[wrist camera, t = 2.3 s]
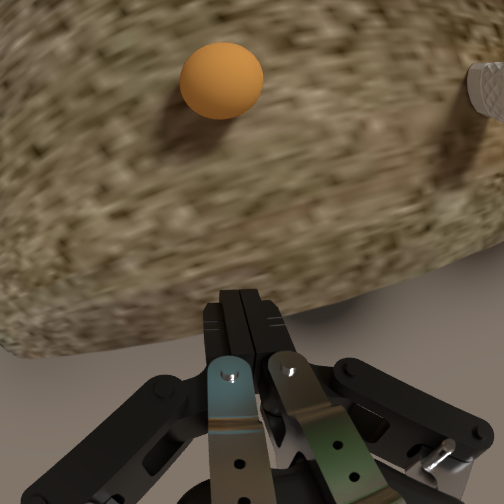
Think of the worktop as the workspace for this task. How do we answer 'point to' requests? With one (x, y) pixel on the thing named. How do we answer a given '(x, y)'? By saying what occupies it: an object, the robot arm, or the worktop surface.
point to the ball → (221, 81)
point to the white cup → (487, 89)
